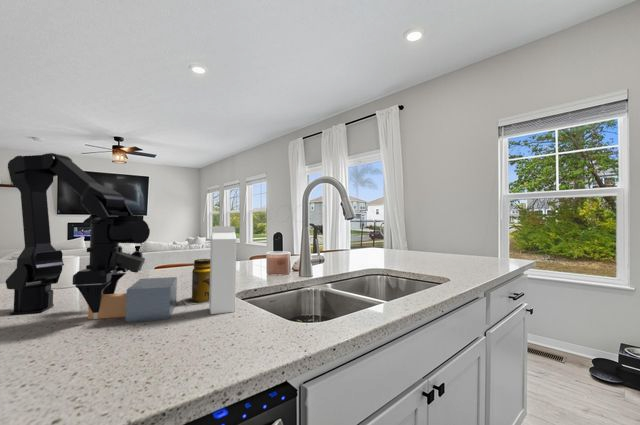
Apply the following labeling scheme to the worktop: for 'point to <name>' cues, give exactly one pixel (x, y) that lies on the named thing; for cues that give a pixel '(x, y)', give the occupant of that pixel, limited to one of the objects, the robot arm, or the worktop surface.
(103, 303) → the tan banded carton
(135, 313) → the gray block
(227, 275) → the milk
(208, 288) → the condiment
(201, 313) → the worktop surface
